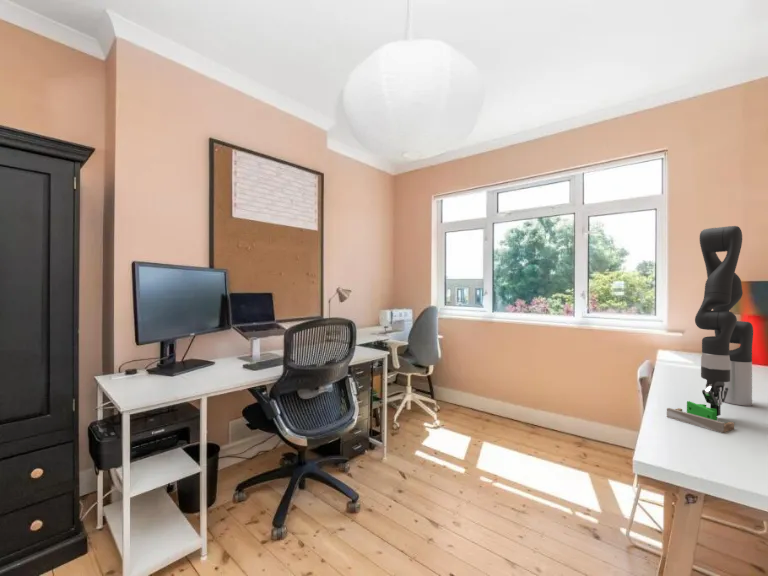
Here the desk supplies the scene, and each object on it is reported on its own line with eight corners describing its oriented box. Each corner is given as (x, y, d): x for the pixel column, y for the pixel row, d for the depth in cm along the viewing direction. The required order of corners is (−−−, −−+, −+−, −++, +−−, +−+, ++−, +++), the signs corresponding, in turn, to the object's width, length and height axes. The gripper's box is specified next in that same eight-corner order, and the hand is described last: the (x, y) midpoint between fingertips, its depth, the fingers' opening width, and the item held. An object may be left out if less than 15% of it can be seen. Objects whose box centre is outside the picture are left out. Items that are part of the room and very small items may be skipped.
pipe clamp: (724, 426, 114) (724, 412, 114) (712, 425, 115) (712, 411, 114) (697, 413, 125) (697, 401, 125) (686, 413, 126) (686, 400, 126)
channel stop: (679, 413, 125) (679, 405, 125) (734, 428, 111) (734, 419, 111) (666, 416, 121) (666, 408, 121) (722, 432, 108) (722, 423, 108)
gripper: (711, 362, 127) (711, 409, 127) (692, 365, 121) (692, 414, 121) (738, 367, 120) (738, 416, 120) (720, 370, 114) (720, 421, 114)
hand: (715, 415), depth 120 cm, fingers closed
